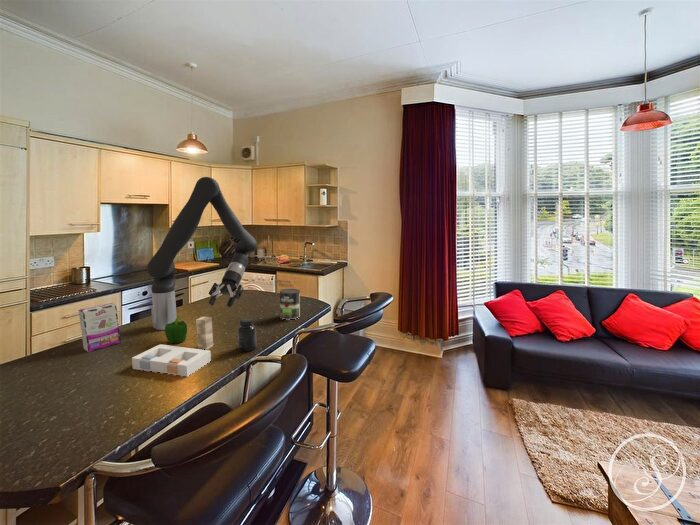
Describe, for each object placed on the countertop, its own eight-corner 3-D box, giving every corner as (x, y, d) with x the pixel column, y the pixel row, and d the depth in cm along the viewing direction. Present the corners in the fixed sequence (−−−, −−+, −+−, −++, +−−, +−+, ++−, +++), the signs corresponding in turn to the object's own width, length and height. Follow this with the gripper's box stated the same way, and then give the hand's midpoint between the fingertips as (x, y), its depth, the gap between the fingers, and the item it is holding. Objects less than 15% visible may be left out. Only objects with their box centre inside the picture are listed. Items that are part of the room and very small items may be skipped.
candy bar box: (115, 340, 134) (111, 302, 132) (121, 343, 132) (117, 304, 129) (82, 349, 125) (77, 309, 122) (88, 352, 122) (83, 311, 120)
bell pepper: (176, 346, 129) (174, 322, 127) (161, 343, 132) (159, 320, 130) (193, 339, 137) (191, 316, 135) (178, 336, 139) (177, 314, 138)
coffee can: (296, 321, 161) (296, 293, 159) (277, 319, 163) (276, 292, 161) (302, 314, 171) (302, 289, 169) (284, 313, 173) (283, 288, 171)
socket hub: (131, 369, 110) (130, 357, 109) (160, 354, 122) (159, 343, 121) (186, 377, 105) (185, 365, 104) (211, 361, 117) (210, 349, 116)
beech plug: (197, 348, 127) (196, 319, 125) (204, 344, 131) (203, 316, 129) (206, 349, 126) (205, 320, 124) (213, 345, 130) (211, 317, 128)
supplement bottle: (249, 344, 132) (248, 316, 131) (260, 348, 129) (259, 319, 127) (234, 349, 127) (233, 320, 125) (246, 354, 123) (244, 324, 121)
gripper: (216, 268, 144) (200, 300, 135) (244, 270, 141) (230, 302, 132) (224, 278, 150) (209, 308, 141) (251, 279, 147) (238, 311, 137)
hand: (219, 305), depth 136 cm, fingers open, 8 cm apart
